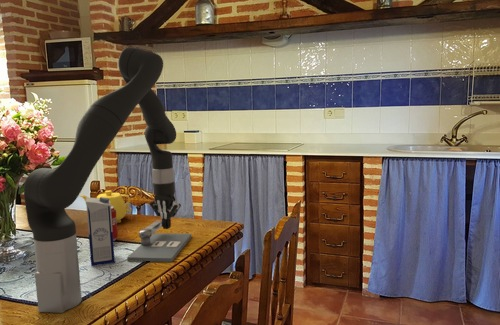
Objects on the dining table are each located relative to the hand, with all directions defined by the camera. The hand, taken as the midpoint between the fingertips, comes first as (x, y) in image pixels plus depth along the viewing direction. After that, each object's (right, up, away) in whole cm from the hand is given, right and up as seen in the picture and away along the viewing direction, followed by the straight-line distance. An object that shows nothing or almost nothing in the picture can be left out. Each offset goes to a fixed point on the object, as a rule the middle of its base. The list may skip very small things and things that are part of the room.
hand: (166, 228), depth 149 cm
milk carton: (-16, -7, -19) cm, 26 cm away
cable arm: (-4, -1, -4) cm, 6 cm away
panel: (0, -5, -9) cm, 11 cm away
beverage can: (-21, -4, 0) cm, 21 cm away
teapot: (-30, -1, +25) cm, 39 cm away
